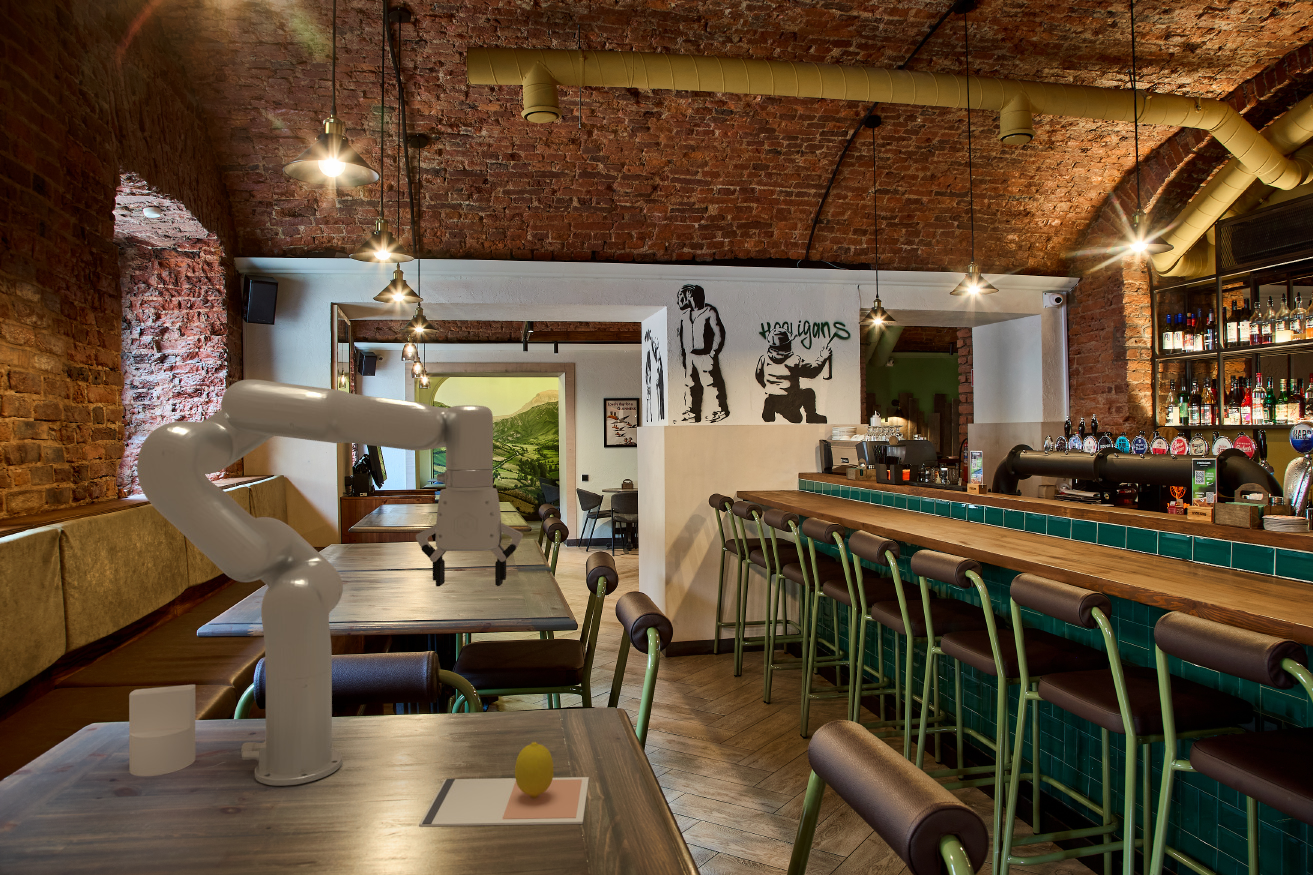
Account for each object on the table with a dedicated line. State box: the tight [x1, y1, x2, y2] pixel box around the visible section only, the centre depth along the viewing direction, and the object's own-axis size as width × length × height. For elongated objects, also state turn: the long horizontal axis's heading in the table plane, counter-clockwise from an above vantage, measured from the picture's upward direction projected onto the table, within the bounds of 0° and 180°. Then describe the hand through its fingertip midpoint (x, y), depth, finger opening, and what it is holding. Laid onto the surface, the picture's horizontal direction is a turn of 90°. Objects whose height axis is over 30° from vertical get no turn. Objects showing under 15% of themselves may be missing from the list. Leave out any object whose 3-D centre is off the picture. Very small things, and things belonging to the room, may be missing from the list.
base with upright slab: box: [128, 684, 196, 777], centre depth 126 cm, size 9×9×12 cm
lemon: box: [514, 741, 555, 798], centre depth 113 cm, size 6×6×8 cm
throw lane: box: [418, 776, 590, 827], centre depth 113 cm, size 22×14×1 cm, turn 92°
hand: (469, 584), depth 129 cm, fingers open, 9 cm apart
